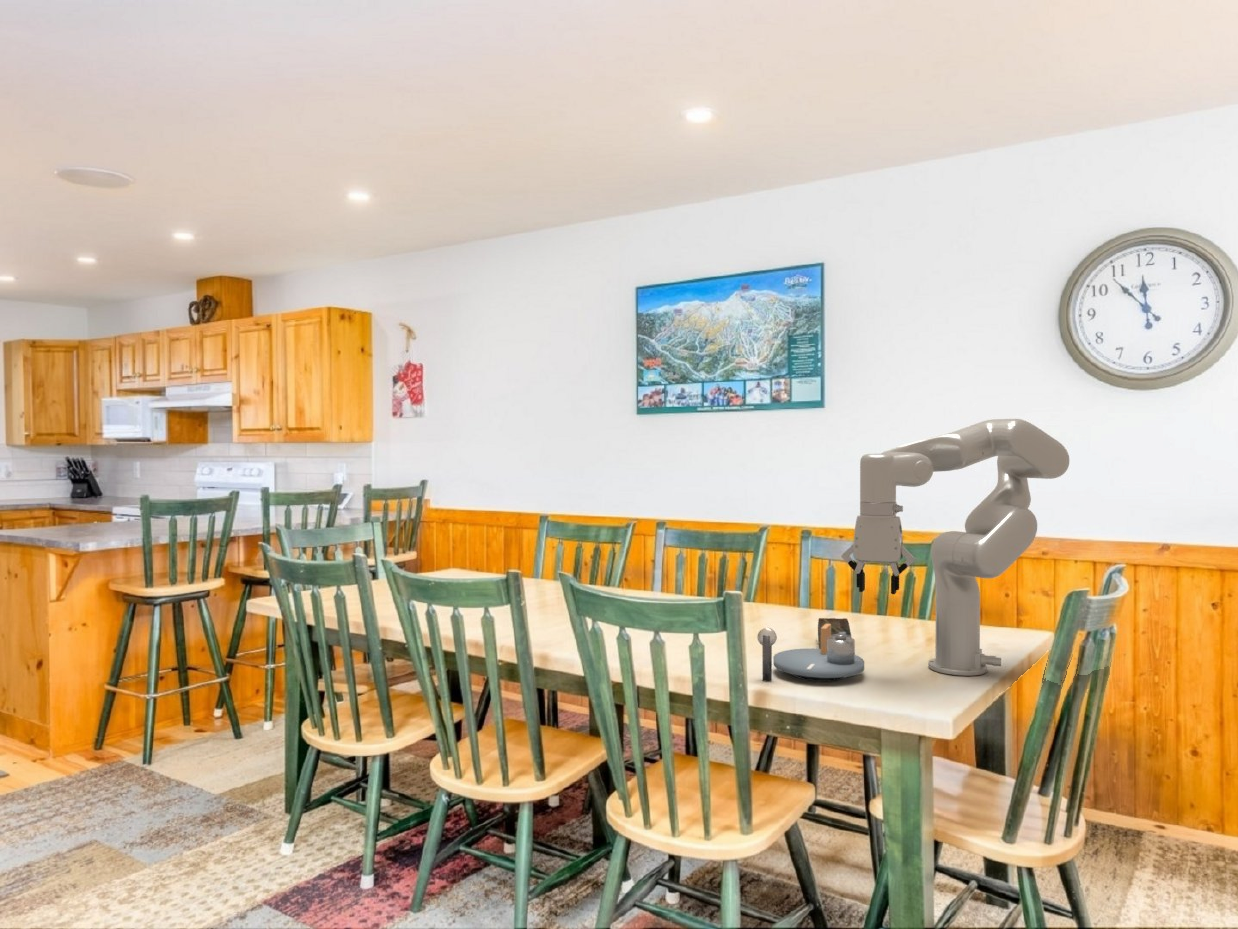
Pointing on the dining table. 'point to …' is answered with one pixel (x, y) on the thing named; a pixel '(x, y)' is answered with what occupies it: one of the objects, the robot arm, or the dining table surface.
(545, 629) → the dining table surface
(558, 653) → the dining table surface
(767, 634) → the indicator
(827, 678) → the pedestal
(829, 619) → the beverage carton
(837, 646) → the cover
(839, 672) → the turntable
